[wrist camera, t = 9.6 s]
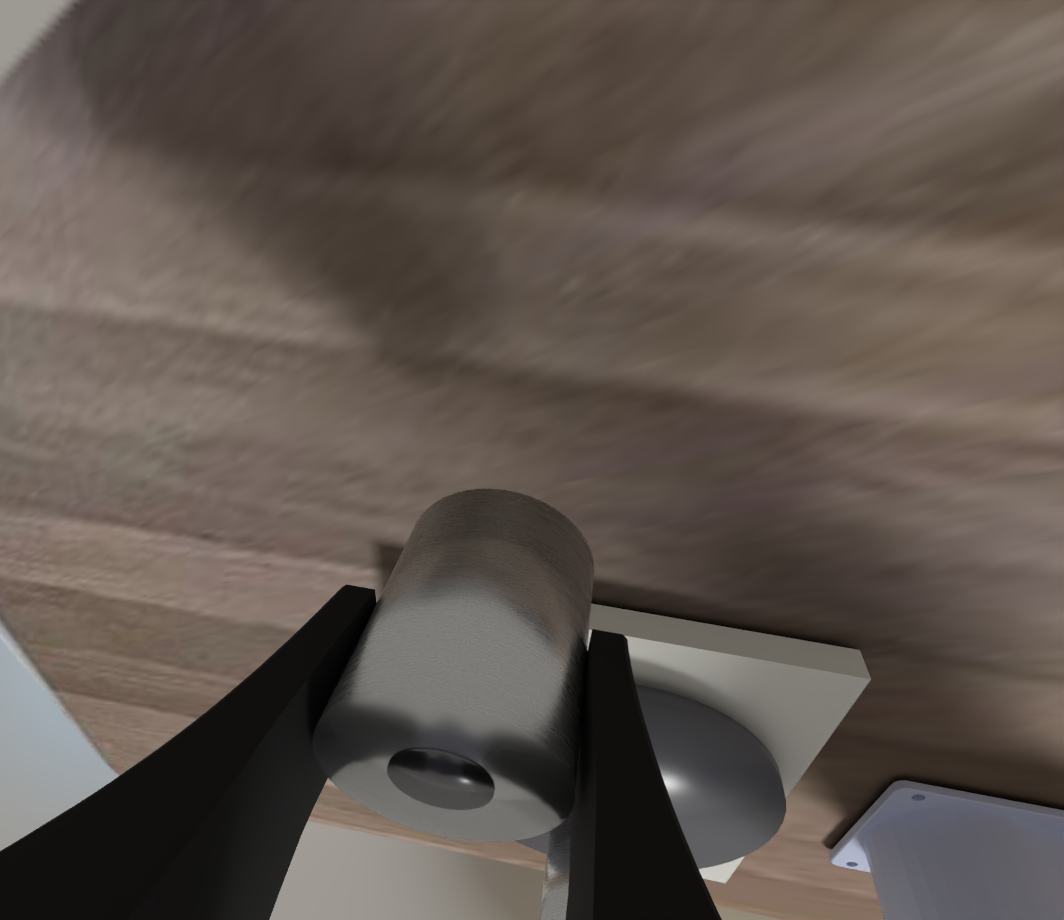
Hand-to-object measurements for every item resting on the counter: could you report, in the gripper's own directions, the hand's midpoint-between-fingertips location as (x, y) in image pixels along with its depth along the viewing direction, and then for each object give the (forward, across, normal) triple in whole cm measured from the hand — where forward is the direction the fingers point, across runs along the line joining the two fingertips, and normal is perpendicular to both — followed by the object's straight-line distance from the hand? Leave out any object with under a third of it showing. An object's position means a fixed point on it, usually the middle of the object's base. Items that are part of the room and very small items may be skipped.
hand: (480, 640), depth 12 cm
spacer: (+2, 0, 0) cm, 2 cm away
